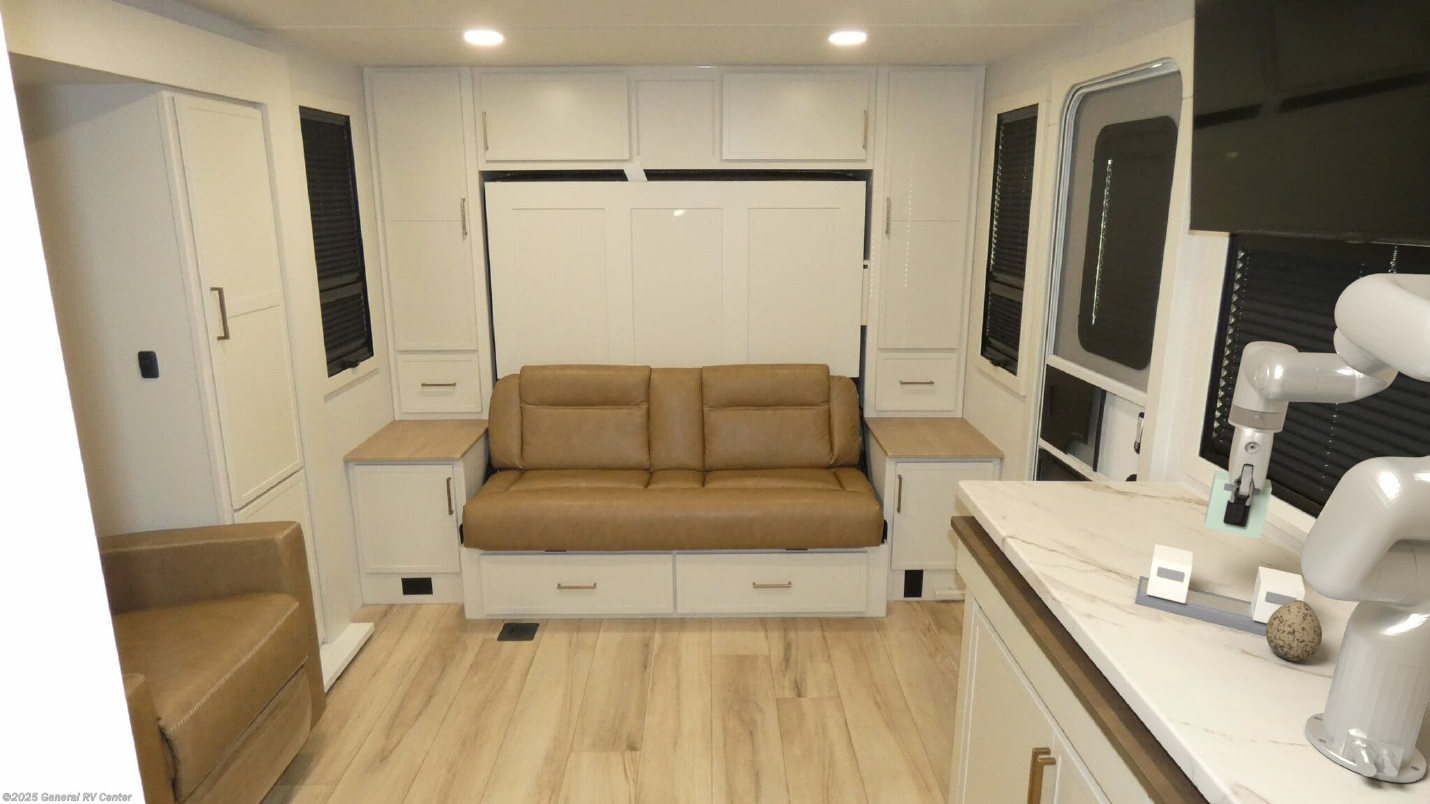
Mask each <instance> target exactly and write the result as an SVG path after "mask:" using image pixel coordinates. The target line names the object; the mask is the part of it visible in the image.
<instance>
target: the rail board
mask: <svg viewBox="0 0 1430 804" xmlns="http://www.w3.org/2000/svg"><path fill="white" fill-rule="evenodd" d="M1193 555H1194V551H1190V550H1187V549H1185V550H1184V549H1181V548H1176V547H1171V546H1168V545H1162V544H1157V543H1155V544H1154V550H1153V554H1152V560H1151V567H1150V570H1149V571H1150V572H1149V577H1145V576H1142V575H1140V576H1139V579H1138V585H1137V590H1136V596H1135V601H1134V604H1137V605H1141V606H1144V607H1149V608H1151V609H1157V610H1161V611H1164V612H1168V613H1173V614H1176V615H1181V616H1184V617H1189V618H1193V619H1196V620H1201V621H1205V622H1209V623H1213V624H1216V625H1221V626H1224V627H1228V628H1232V629H1236V630H1241V631H1245V632H1249V633H1253V634H1256V635H1260V636H1263V637H1266V625H1267V622H1268V620H1269V618H1270V617H1271V615H1272V614H1273V613H1274V612H1275V611H1276V610H1277V609H1278V608H1280V607H1281V606H1283V605H1285V604H1287V603H1289V602H1291V601H1295V600H1301V601H1304V598H1305V594H1306V590H1305V585H1304V581H1303V576H1302V575H1301V574H1297V573H1293V572H1288V571H1283V570H1279V569H1274V568H1269V567H1264V566H1260V565H1259V566H1258V569H1257V575H1256V579H1255V584H1254V586H1253V587H1254V589H1253V591H1252V592H1253V593H1252V597H1251V601H1248V600H1245V599H1244V600H1243V599H1239V598H1235V597H1231V596H1227V595H1222V594H1218V593H1213V592H1210V591H1205V590H1201V589H1196V588H1193V587H1189V585H1190V579H1191V575H1192V568H1193V557H1194V556H1193Z"/></svg>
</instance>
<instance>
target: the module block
mask: <svg viewBox="0 0 1430 804" xmlns="http://www.w3.org/2000/svg"><path fill="white" fill-rule="evenodd" d="M1240 483H1241V482H1240V481H1237V482H1236V484H1239V485H1240ZM1232 487H1233V486H1232V485H1231V484H1230V483H1229V472H1228V471H1227V472H1226V471H1222V470H1221V471H1220V470H1215V471H1214V473H1213V478H1212V482H1211V487H1210V492H1209V498H1208V502H1207V508H1206V511H1205V515H1204V516H1205V517H1204V528H1206V529H1211V530H1215V531H1221V532H1225V533H1229V534H1235V535H1239V536H1245V537H1250V538H1254V539H1259V540H1260V539H1261V537H1262V533H1263V528H1264V524H1265V519H1266V516H1267V512H1268V507H1269V502H1270V498H1271V494H1272V491H1273V487H1272V481H1271V480H1270V479H1266V480H1265V485H1264V489H1263V490H1261V491H1259V490H1258V489H1257V488H1255V484H1254V485H1253V490H1252V495H1251V499H1250V510H1249V514H1248V518H1247V523H1246V526H1245V527H1240V526H1235V525H1230V524H1225V523H1224V522H1223V520H1224V515H1225V511H1226V506H1227V501H1228V500H1229V501H1230V497H1231V492H1232ZM1236 491H1239V489H1238V488H1236Z"/></svg>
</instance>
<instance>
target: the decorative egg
mask: <svg viewBox="0 0 1430 804" xmlns="http://www.w3.org/2000/svg"><path fill="white" fill-rule="evenodd" d="M1265 637H1266V642H1267V643H1268V645H1269V648H1270V649H1271V650H1272V651H1273V652H1274V653H1275V654H1276V655H1277V656H1279V657H1280V658H1282V659H1285V660H1286V661H1287V660H1288V661H1293V662H1299V661H1305V660H1307V659H1310V658H1311V657H1313V656H1314V655H1315V654H1316V653H1317V652H1318V651H1319V649H1320V647H1321V645H1322V641H1323V629H1322V626H1321V622H1320V620H1319V618H1318V616H1317V614H1316V613H1315V611H1314V610H1313V608H1312V607H1311V606H1310V605H1309V604H1308V603H1307V602H1305V601H1304V600H1303V601H1301V600H1295V601H1291V602H1289V603H1287V604H1285V605H1283V606H1281V607H1280V608H1278V609H1277V610H1276V611H1275V612H1274V613H1273V614H1272V615H1271V617H1270V618H1269V620H1268V622H1267V625H1266V636H1265Z"/></svg>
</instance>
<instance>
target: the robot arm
mask: <svg viewBox="0 0 1430 804" xmlns="http://www.w3.org/2000/svg"><path fill="white" fill-rule="evenodd" d="M1334 320H1335V321H1334V322H1335V325H1336V326H1337V328H1336V329H1335V331H1334V334H1333V345H1334V349H1335V353H1329V352H1303V351H1301V352H1299V351H1298V349H1297V348H1295V346H1293V345H1289V344H1286V343H1283V342H1276V341H1265V340H1264V341H1263V340H1261V341H1252V342H1248V344H1246V345H1245V346H1244V348H1243V350H1242V355H1241V358H1240V365H1239V367H1238V368H1239V369H1238V373H1237V378H1236V381H1235V382H1236V383H1235V387H1234V392H1233V397H1232V402H1231V407H1230V411H1229V415H1228V421H1227V422H1228V424H1230V425H1232V426H1233V427H1234V432H1233V437H1232V443H1231V447H1230V454H1229V460H1228V473H1229V483H1230V484H1231V485H1232V486H1233V487H1232V492H1231V497H1230V501H1229V500H1228V501H1227V506H1226V511H1225V515H1224V520H1223V522H1224V523H1225V524H1230V525H1235V526H1240V527H1245V526H1246V523H1247V518H1248V514H1249V510H1250V499H1251V495H1252V490H1253V485H1254V484H1255V488H1257V489H1258V490H1259V491H1261V490H1263V489H1264V485H1265V480H1267V474H1268V469H1269V463H1270V459H1271V456H1272V455H1271V454H1272V449H1273V445H1274V444H1273V443H1274V433H1281V432H1283V427H1284V423H1285V420H1286V415H1287V411H1288V407H1289V402H1292V403H1295V402H1296V403H1300V402H1301V403H1303V402H1304V403H1305V402H1306V403H1328V404H1343V403H1344V404H1345V403H1350V402H1354V401H1358V400H1361V399H1364V398H1367V397H1369V396H1372V395H1375V394H1376V393H1377V394H1378V393H1379V392H1381V391H1383V390H1385V389H1387V388H1388V387H1389V386H1390V385H1392V383H1393V382H1394V380H1395V379H1396V376H1397V375H1398V373H1399V372H1400V373H1402V374H1404V375H1405V376H1408V377H1410V378H1412V379H1415V380H1418V381H1423V382H1427V383H1430V274H1416V273H1415V274H1414V273H1374V274H1368V275H1365V276H1363V277H1360V278H1358V279H1355V281H1353V282H1352V283H1350V284H1349V285H1348V286H1347V287H1346V288H1345V289H1344V290H1343V291H1342V292H1341V293H1340V296H1339V297H1338V300H1337V302H1336V303H1335V308H1334ZM1237 481H1240V482H1241V483H1240V485H1239V484H1236V482H1237ZM1236 488H1238V489H1239V491H1236ZM1300 566H1301V571H1302V574H1303V575H1302V576H1303V577H1304V580H1305V582H1306V583H1307V584H1308V585H1309V586H1310V588H1311V589H1312V590H1313V591H1315V592H1316V593H1317V594H1319V595H1321V596H1323V597H1326V598H1328V599H1331V600H1335V601H1343V602H1352V603H1353V602H1354V603H1355V602H1356V603H1357V604H1356V606H1355V607H1354V608H1353V611H1352V612H1351V614H1350V616H1349V618H1348V620H1347V622H1346V627H1345V631H1344V634H1343V638H1342V640H1341V641H1342V642H1341V645H1340V649H1339V652H1338V653H1339V654H1338V658H1337V660H1336V664H1335V669H1334V672H1333V675H1332V676H1333V677H1332V681H1331V684H1330V688H1329V691H1328V696H1327V699H1326V703H1325V707H1324V710H1323V712H1321V713H1315V714H1313V715H1310V716H1309V717H1308V718H1307V720H1306V723H1305V725H1304V733H1305V735H1306V738H1307V739H1308V740H1309V742H1310V743H1311V745H1313V746H1314V748H1316V750H1317V751H1319V752H1320V753H1322V754H1323V755H1324V756H1325V757H1327V758H1328V759H1330V760H1332V761H1333V762H1335V763H1337V764H1338V765H1341V766H1342V767H1344V768H1347V769H1349V770H1350V771H1353V772H1355V773H1357V774H1360V775H1361V776H1364V777H1366V778H1367V777H1369V778H1372V779H1376V780H1379V781H1385V782H1389V783H1399V784H1400V783H1401V784H1402V783H1412V782H1417V781H1419V780H1421V779H1423V777H1424V776H1425V774H1426V770H1427V767H1428V766H1427V761H1426V758H1425V757H1424V755H1423V754H1422V753H1421V752H1420V751H1419V749H1418V748H1417V747H1416V744H1417V742H1418V738H1419V735H1420V732H1421V728H1422V725H1423V722H1424V719H1425V715H1426V712H1427V708H1428V704H1429V702H1430V455H1426V456H1422V457H1421V456H1420V457H1413V456H1410V457H1409V456H1381V457H1379V456H1377V457H1373V458H1368V459H1365V460H1363V461H1361V462H1359V463H1356V464H1354V466H1352V467H1351V468H1350V469H1348V470H1347V471H1346V472H1345V473H1344V474H1343V475H1342V477H1341V479H1340V480H1339V481H1338V483H1337V485H1336V486H1335V488H1334V490H1333V491H1332V493H1331V494H1330V496H1329V498H1328V500H1327V501H1326V503H1325V504H1324V506H1323V509H1322V510H1321V512H1319V515H1318V517H1317V518H1316V520H1315V522H1314V524H1313V525H1312V527H1311V529H1310V530H1309V532H1308V534H1307V536H1306V538H1305V541H1304V543H1303V546H1302V550H1301V556H1300ZM1420 778H1421V779H1420ZM1416 780H1417V781H1416Z"/></svg>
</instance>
